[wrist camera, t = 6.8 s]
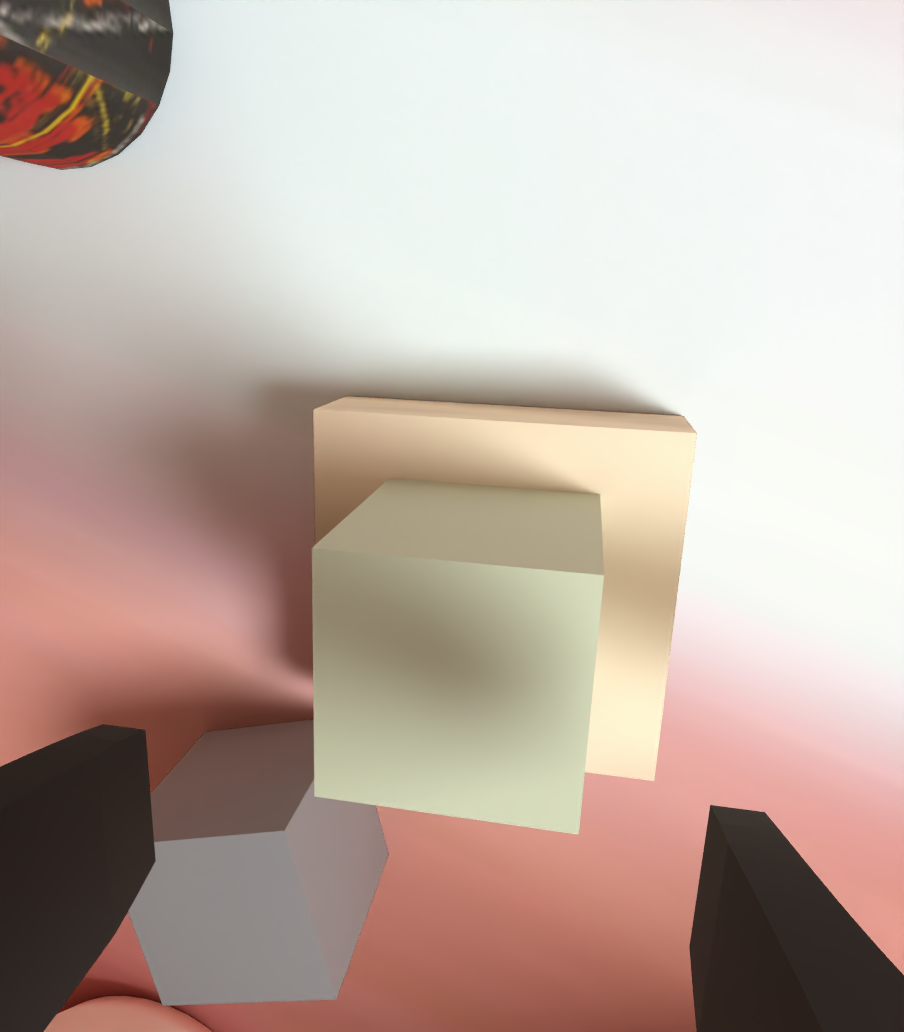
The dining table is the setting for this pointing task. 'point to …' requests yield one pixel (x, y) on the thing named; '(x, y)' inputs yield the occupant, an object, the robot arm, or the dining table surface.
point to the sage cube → (458, 651)
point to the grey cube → (254, 873)
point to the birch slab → (555, 467)
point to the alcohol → (123, 1017)
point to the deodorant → (80, 77)
